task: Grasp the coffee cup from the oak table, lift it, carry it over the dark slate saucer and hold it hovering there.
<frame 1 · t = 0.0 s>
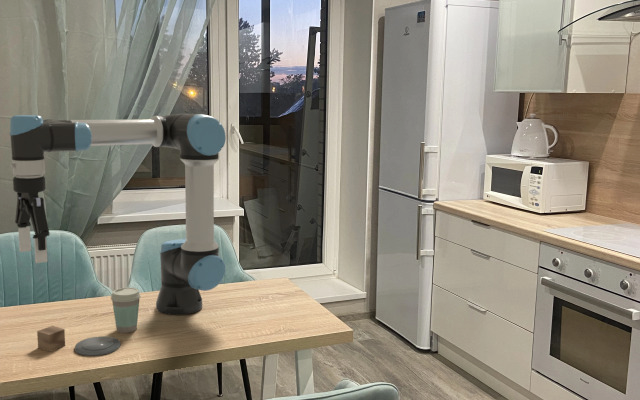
hand: (33, 256, 166), 28 cm above the table, fingers open, 13 cm apart
saucer: (97, 347, 178), on the table
coffee cup: (126, 329, 192), on the table
walnut block: (51, 347, 178), on the table
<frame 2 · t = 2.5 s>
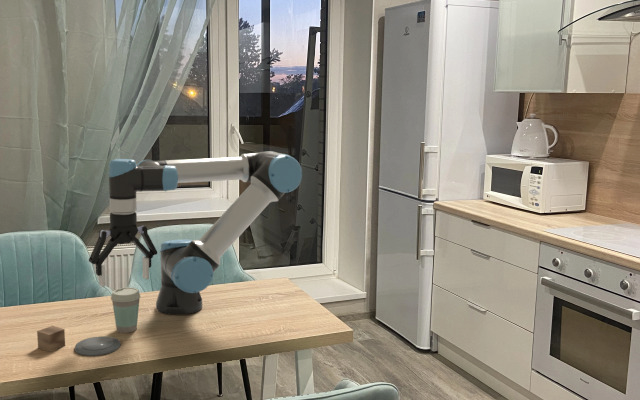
hand: (124, 282, 189), 15 cm above the table, fingers open, 13 cm apart
nothing on the table moved.
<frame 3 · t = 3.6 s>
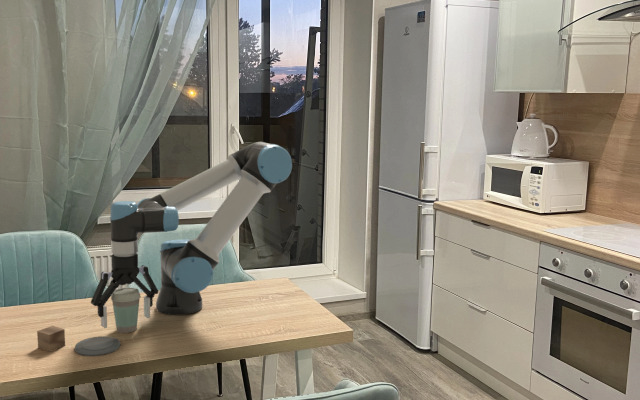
hand: (126, 321, 192), 2 cm above the table, fingers open, 13 cm apart
nothing on the table moved.
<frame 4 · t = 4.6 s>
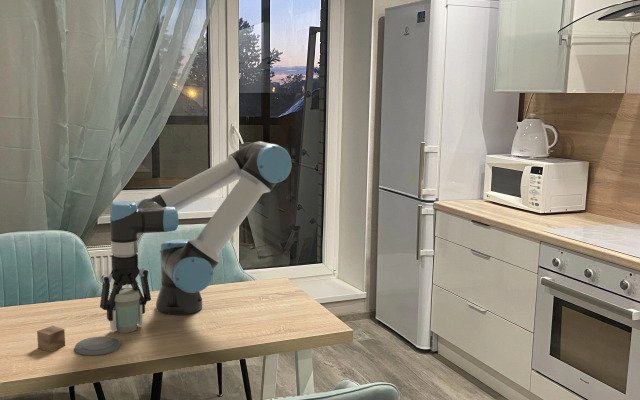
hand: (126, 327, 192), 1 cm above the table, fingers closed on coffee cup, 8 cm apart
coffee cup: (126, 329, 192), on the table, touching gripper
everything else where it was.
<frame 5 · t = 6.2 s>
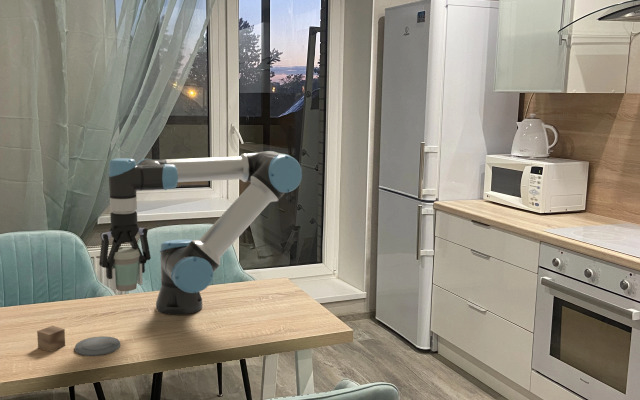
hand: (126, 286, 190), 14 cm above the table, fingers closed on coffee cup, 8 cm apart
coffee cup: (126, 289, 190), point 13 cm above the table, touching gripper
everything else where it was.
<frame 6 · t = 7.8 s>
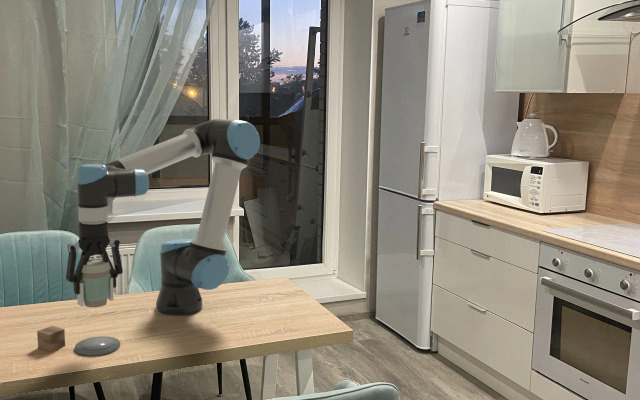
hand: (95, 301, 176), 13 cm above the table, fingers closed on coffee cup, 8 cm apart
coffee cup: (95, 304, 176), point 12 cm above the table, touching gripper
everything else where it was.
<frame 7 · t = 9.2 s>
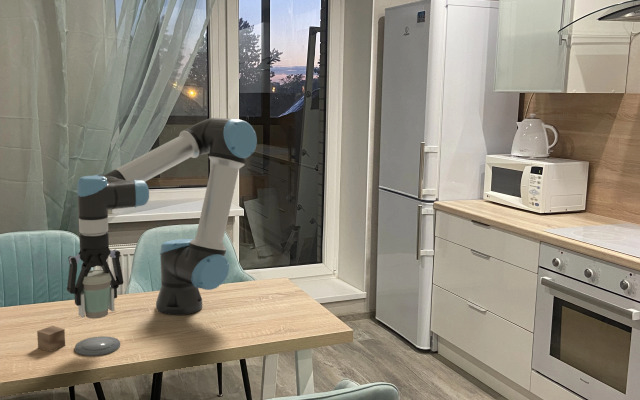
hand: (96, 312, 177), 10 cm above the table, fingers closed on coffee cup, 8 cm apart
coffee cup: (96, 315, 177), point 9 cm above the table, touching gripper
everything else where it was.
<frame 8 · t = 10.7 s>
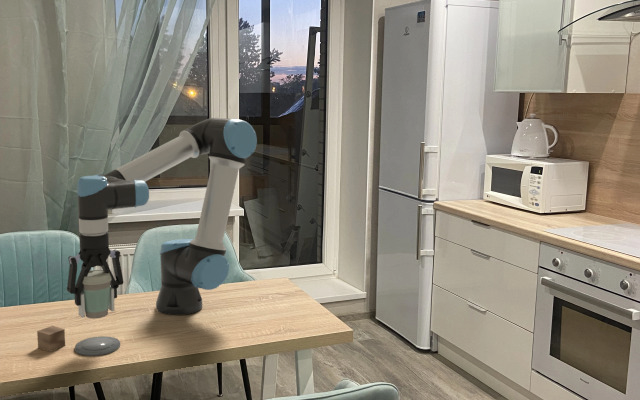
hand: (96, 312, 177), 10 cm above the table, fingers closed on coffee cup, 8 cm apart
coffee cup: (96, 315, 177), point 9 cm above the table, touching gripper
everything else where it was.
at the end: the gripper is holding coffee cup; coffee cup point 9.3 cm above the table; coffee cup 0.1 cm from the saucer (horizontally) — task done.
